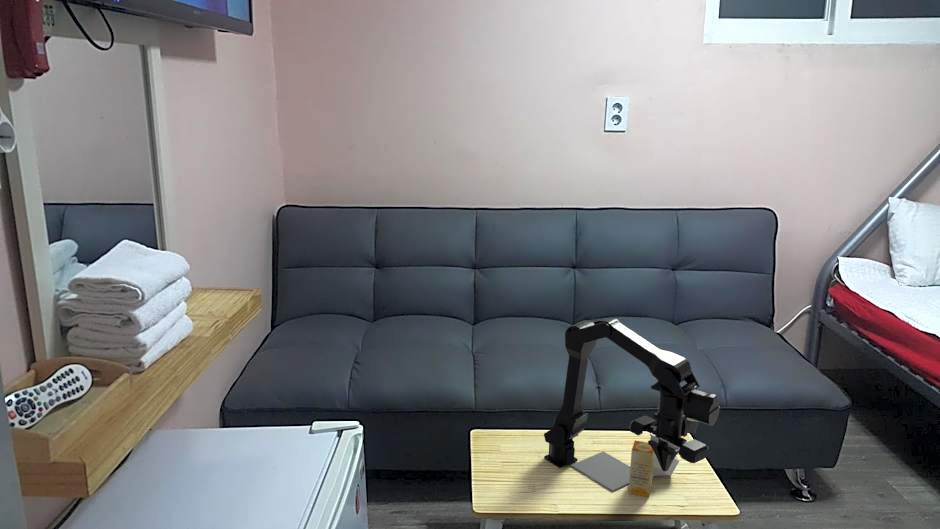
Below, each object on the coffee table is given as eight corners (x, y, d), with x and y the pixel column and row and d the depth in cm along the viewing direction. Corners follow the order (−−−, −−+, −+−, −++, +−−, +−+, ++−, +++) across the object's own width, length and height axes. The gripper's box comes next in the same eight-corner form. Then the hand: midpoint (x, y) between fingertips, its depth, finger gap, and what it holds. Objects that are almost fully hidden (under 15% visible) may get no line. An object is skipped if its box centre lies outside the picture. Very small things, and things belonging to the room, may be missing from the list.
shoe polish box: (651, 487, 177) (655, 444, 174) (648, 498, 173) (652, 453, 170) (631, 483, 179) (634, 440, 176) (628, 493, 174) (631, 449, 171)
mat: (571, 466, 186) (571, 465, 186) (603, 452, 193) (603, 451, 193) (612, 491, 175) (612, 490, 175) (645, 476, 182) (645, 475, 182)
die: (670, 488, 178) (689, 455, 179) (640, 470, 178) (660, 436, 179) (661, 481, 186) (679, 449, 187) (632, 464, 186) (651, 432, 187)
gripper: (726, 416, 162) (719, 477, 166) (661, 387, 176) (655, 444, 180) (696, 430, 155) (689, 493, 159) (630, 399, 170) (626, 457, 174)
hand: (665, 470), depth 168 cm, fingers closed
